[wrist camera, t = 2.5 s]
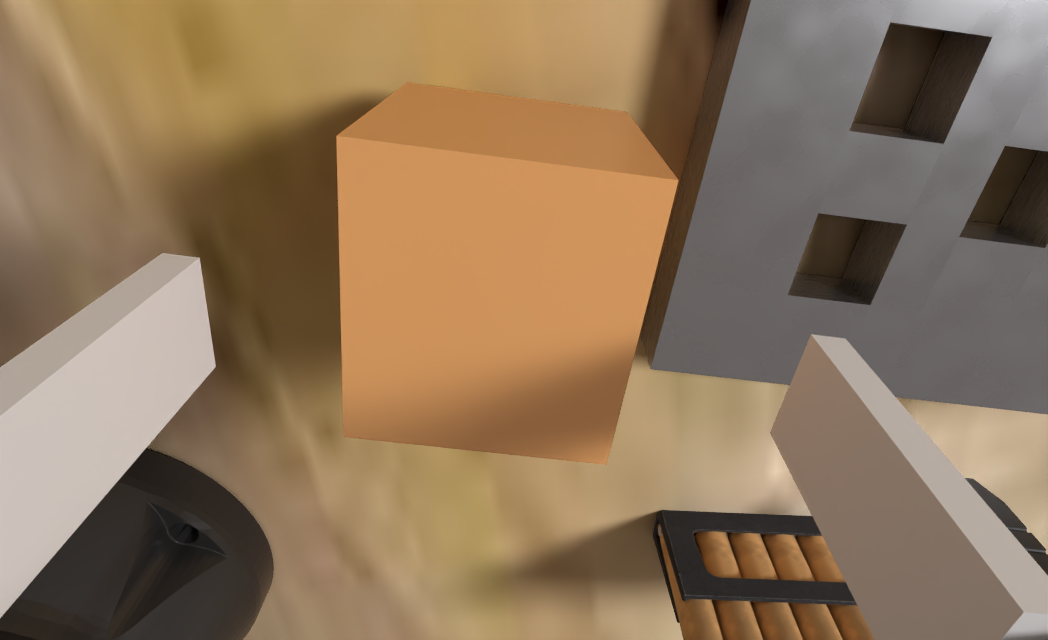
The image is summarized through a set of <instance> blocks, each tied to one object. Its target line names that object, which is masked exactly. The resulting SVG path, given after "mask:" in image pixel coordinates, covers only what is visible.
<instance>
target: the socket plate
mask: <svg viewBox="0 0 1048 640" xmlns="http://www.w3.org/2000/svg"><path fill="white" fill-rule="evenodd" d="M890 24H894V25H900V26H907V27H914V28H921V29H928V30H935V31H942V32H945V33H944V35H943V38H942V40H941V42H940V45H939V47H938V50H937V52H936V54H935V57H934V59H933V62H932V64H931V66H930V69H929V71H928V73H927V76H926V78H925V81H924V83H923V85H922V88H921V90H920V93H919V95H918V97H917V100H916V102H915V105H914V107H913V109H912V112H911V114H910V116H909V119H908V121H907V124H906V126H905V128H904V129H901V128H894V127H887V126H879V125H872V124H865V123H857V122H853V120H854V118H855V115H856V112H857V110H858V107H859V104H860V102H861V99H862V96H863V94H864V91H865V88H866V86H867V83H868V80H869V78H870V75H871V73H872V70H873V67H874V65H875V62H876V59H877V57H878V54H879V51H880V49H881V46H882V43H883V41H884V38H885V35H886V33H887V30H888V27H889V25H890ZM1005 146H1011V147H1018V148H1026V149H1033V150H1039V152H1038V153H1037V155H1036V157H1035V159H1034V161H1033V163H1032V165H1031V167H1030V168H1029V170H1028V172H1027V174H1026V176H1025V178H1024V180H1023V182H1022V183H1021V185H1020V187H1019V189H1018V191H1017V193H1016V195H1015V197H1014V198H1013V200H1012V202H1011V204H1010V206H1009V208H1008V210H1007V212H1006V213H1005V215H1004V217H1003V219H1002V221H1001V223H1000V225H997V224H989V223H981V222H974V221H967V220H968V218H969V216H970V214H971V212H972V210H973V208H974V206H975V204H976V202H977V200H978V198H979V196H980V194H981V193H982V191H983V189H984V187H985V185H986V183H987V181H988V179H989V177H990V175H991V173H992V171H993V169H994V167H995V165H996V163H997V161H998V159H999V157H1000V155H1001V153H1002V151H1003V149H1004V147H1005ZM818 213H820V214H828V215H836V216H844V217H851V218H859V219H866V221H865V224H864V226H863V229H862V231H861V233H860V236H859V238H858V240H857V243H856V245H855V248H854V250H853V252H852V255H851V257H850V260H849V262H848V264H847V267H846V269H845V272H844V274H843V276H842V278H836V277H828V276H820V275H811V274H803V273H796V271H797V269H798V266H799V263H800V261H801V258H802V256H803V253H804V250H805V248H806V245H807V242H808V240H809V237H810V234H811V232H812V229H813V226H814V224H815V221H816V218H817V216H818ZM811 334H813V335H821V336H829V337H837V338H845V339H846V340H847V341H848V342H849V343H850V344H851V346H852V347H853V348H854V349H855V350H856V351H857V353H858V354H859V355H860V356H861V357H862V359H863V360H864V361H865V362H866V363H867V364H868V366H869V367H870V368H871V369H872V370H873V371H874V373H875V374H876V375H877V376H878V377H879V378H880V380H881V381H882V382H883V383H884V384H885V385H886V387H887V388H888V389H889V390H890V391H891V392H892V394H893V395H894V396H895V397H900V398H909V399H918V400H927V401H935V402H944V403H953V404H962V405H970V406H979V407H988V408H997V409H1005V410H1014V411H1023V412H1032V413H1041V414H1048V0H728V1H727V5H726V9H725V13H724V17H723V21H722V25H721V28H720V32H719V36H718V40H717V44H716V48H715V52H714V56H713V60H712V64H711V68H710V71H709V75H708V79H707V83H706V87H705V91H704V95H703V99H702V103H701V107H700V111H699V114H698V118H697V122H696V126H695V130H694V134H693V138H692V142H691V146H690V150H689V154H688V157H687V161H686V165H685V169H684V173H683V177H682V181H681V185H680V189H679V193H678V197H677V200H676V204H675V208H674V212H673V216H672V220H671V224H670V228H669V232H668V236H667V240H666V243H665V247H664V251H663V255H662V259H661V263H660V267H659V271H658V275H657V279H656V283H655V286H654V290H653V294H652V298H651V302H650V306H649V310H648V314H647V318H646V322H645V326H644V329H643V333H642V337H641V340H642V343H643V346H644V349H645V353H646V356H647V359H648V362H649V365H650V369H655V370H663V371H672V372H681V373H690V374H699V375H707V376H716V377H725V378H734V379H742V380H751V381H760V382H769V383H777V384H786V385H790V384H791V381H792V379H793V377H794V374H795V372H796V369H797V367H798V365H799V362H800V360H801V357H802V355H803V353H804V350H805V348H806V345H807V343H808V341H809V338H810V336H811Z"/></svg>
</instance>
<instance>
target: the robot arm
mask: <svg viewBox="0 0 1048 640" xmlns="http://www.w3.org/2000/svg"><path fill="white" fill-rule="evenodd" d="M215 367H216V365H215V358H214V351H213V345H212V338H211V331H210V324H209V318H208V311H207V304H206V297H205V291H204V284H203V277H202V271H201V264H200V258H198V257H190V256H182V255H174V254H166V253H162V254H160V255H159V256H158V257H156V258H155V259H153V260H152V261H150V262H149V263H148V264H146V265H145V266H143V267H142V268H140V269H139V270H138V271H136V272H135V273H133V274H132V275H131V276H129V277H128V278H126V279H125V280H123V281H122V282H121V283H119V284H118V285H116V286H115V287H114V288H112V289H111V290H109V291H108V292H106V293H105V294H104V295H102V296H101V297H99V298H98V299H96V300H95V301H94V302H92V303H91V304H89V305H88V306H87V307H85V308H84V309H82V310H81V311H79V312H78V313H77V314H75V315H74V316H72V317H71V318H70V319H68V320H67V321H65V322H64V323H62V324H61V325H60V326H58V327H57V328H55V329H54V330H52V331H51V332H50V333H48V334H47V335H45V336H44V337H43V338H41V339H40V340H38V341H37V342H35V343H34V344H33V345H31V346H30V347H28V348H27V349H26V350H24V351H23V352H21V353H20V354H18V355H17V356H16V357H14V358H13V359H11V360H10V361H8V362H7V363H6V364H4V365H3V366H1V367H0V640H243V639H244V638H245V636H246V635H247V634H248V632H249V630H250V629H251V627H252V626H253V624H254V622H255V620H256V618H257V616H258V613H259V611H260V609H261V607H262V604H263V602H264V600H265V598H266V595H267V593H268V591H269V589H270V586H271V583H272V578H273V558H272V553H271V549H270V546H269V543H268V541H267V538H266V536H265V534H264V532H263V531H262V529H261V527H260V525H259V524H258V523H257V521H256V520H255V518H254V517H253V516H252V515H251V513H250V512H249V511H248V510H247V509H246V508H245V507H244V505H243V504H242V503H241V502H240V501H238V500H237V499H236V498H235V497H234V496H233V495H232V494H231V493H230V492H228V491H227V490H226V489H225V488H223V487H222V486H221V485H219V484H218V483H217V482H215V481H214V480H212V479H210V478H209V477H207V476H206V475H204V474H202V473H201V472H199V471H197V470H195V469H194V468H192V467H190V466H188V465H186V464H184V463H181V462H179V461H177V460H175V459H172V458H170V457H167V456H165V455H162V454H159V453H157V452H154V451H151V450H147V449H146V448H147V446H148V445H149V444H150V443H151V442H152V441H153V439H154V438H155V437H156V436H157V435H158V434H159V432H160V431H161V430H162V429H163V428H164V427H165V425H166V424H167V423H168V422H169V421H170V420H171V418H172V417H173V416H174V415H175V414H176V413H177V411H178V410H179V409H180V408H181V407H182V406H183V404H184V403H185V402H186V401H187V400H188V399H189V397H190V396H191V395H192V394H193V393H194V392H195V390H196V389H197V388H198V387H199V386H200V385H201V383H202V382H203V381H204V380H205V379H206V378H207V376H208V375H209V374H210V373H211V372H212V371H213V369H214V368H215ZM770 433H771V435H772V437H773V439H774V441H775V443H776V445H777V447H778V449H779V451H780V453H781V455H782V457H783V459H784V461H785V463H786V465H787V467H788V469H789V471H790V473H791V475H792V477H793V479H794V481H795V483H796V485H797V487H798V489H799V491H800V493H801V495H802V497H803V499H804V501H805V503H806V505H807V507H808V509H809V510H810V512H811V514H812V516H813V518H814V520H815V522H816V524H817V526H818V528H819V530H820V532H821V534H822V536H823V538H824V540H825V542H826V544H827V546H828V548H829V550H830V552H831V554H832V556H833V558H834V560H835V562H836V564H837V566H838V568H839V570H840V572H841V574H842V576H843V578H844V580H845V582H846V584H847V586H848V588H849V590H850V592H851V594H852V595H853V597H854V599H855V601H856V603H857V605H858V607H859V609H860V611H861V613H862V615H863V617H864V619H865V621H866V623H867V625H868V627H869V629H870V631H871V633H872V635H873V637H874V639H875V640H1048V555H1047V554H1046V552H1045V551H1046V549H1045V548H1044V547H1043V546H1042V544H1041V543H1040V542H1039V541H1038V540H1037V539H1036V538H1035V537H1034V535H1033V534H1032V533H1027V531H1026V529H1027V528H1026V526H1025V525H1024V524H1023V523H1022V522H1021V521H1020V520H1019V519H1018V517H1017V516H1016V515H1015V514H1014V513H1013V512H1012V511H1011V510H1010V508H1009V507H1008V506H1007V505H1006V504H1005V503H1004V502H1003V501H1002V500H1000V499H999V498H998V497H996V496H995V495H994V494H992V493H991V492H990V491H988V490H987V489H986V488H984V487H983V486H982V485H980V484H979V483H978V482H977V481H975V480H974V479H970V478H964V477H963V476H962V475H961V473H960V472H959V471H958V470H957V469H956V467H955V466H954V465H953V464H952V463H951V462H950V460H949V459H948V458H947V457H946V456H945V455H944V453H943V452H942V451H941V450H940V449H939V448H938V446H937V445H936V444H935V443H934V442H933V441H932V439H931V438H930V437H929V436H928V435H927V433H926V432H925V431H924V430H923V429H922V428H921V426H920V425H919V424H918V423H917V422H916V421H915V419H914V418H913V417H912V416H911V415H910V414H909V412H908V411H907V410H906V409H905V408H904V407H903V405H902V404H901V403H900V402H899V401H898V400H897V398H896V397H895V396H894V395H893V394H892V392H891V391H890V390H889V389H888V388H887V387H886V385H885V384H884V383H883V382H882V381H881V380H880V378H879V377H878V376H877V375H876V374H875V373H874V371H873V370H872V369H871V368H870V367H869V366H868V364H867V363H866V362H865V361H864V360H863V359H862V357H861V356H860V355H859V354H858V353H857V351H856V350H855V349H854V348H853V347H852V346H851V344H850V343H849V342H848V341H847V340H846V339H845V338H837V337H829V336H821V335H813V334H811V336H810V338H809V341H808V343H807V345H806V348H805V350H804V353H803V355H802V357H801V360H800V362H799V365H798V367H797V369H796V372H795V374H794V377H793V379H792V381H791V384H790V386H789V389H788V391H787V393H786V396H785V398H784V401H783V403H782V405H781V408H780V410H779V413H778V415H777V417H776V420H775V422H774V425H773V427H772V429H771V432H770Z"/></svg>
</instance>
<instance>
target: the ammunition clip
mask: <svg viewBox="0 0 1048 640" xmlns="http://www.w3.org/2000/svg"><path fill="white" fill-rule="evenodd" d="M653 538H654V541H655V545H656V548H657V552H658V556H659V559H660V563H661V566H662V570H663V573H664V577H665V580H666V584H667V588H668V591H669V595H670V598H671V602H672V605H673V609H674V612H675V616H676V619H677V622H678V623H680V627H681V631H682V635H683V639H684V640H875V639H874V637H873V635H872V633H871V631H870V629H869V627H868V625H867V623H866V621H865V619H864V617H863V615H862V613H861V611H860V609H859V607H858V605H857V603H856V601H855V599H854V597H853V595H852V594H851V592H850V590H849V588H848V586H847V584H846V582H845V580H844V578H843V576H842V574H841V572H840V570H839V568H838V566H837V564H836V562H835V560H834V558H833V556H832V554H831V552H830V550H829V548H828V546H827V544H826V542H825V540H824V538H823V536H822V534H821V532H820V530H819V528H818V526H817V524H816V522H815V520H814V518H813V516H793V515H768V514H744V513H719V512H695V511H670V510H661V511H660V512H659V513H658V514H657V519H656V523H655V528H654V533H653Z"/></svg>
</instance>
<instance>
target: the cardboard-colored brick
mask: <svg viewBox="0 0 1048 640" xmlns="http://www.w3.org/2000/svg"><path fill="white" fill-rule="evenodd" d="M336 140H337V182H338V224H339V267H340V309H341V351H342V393H343V435H344V437H349V438H359V439H368V440H378V441H387V442H397V443H406V444H416V445H425V446H434V447H444V448H453V449H463V450H472V451H482V452H491V453H501V454H510V455H520V456H529V457H539V458H548V459H557V460H567V461H576V462H586V463H595V464H605V465H607V461H608V457H609V453H610V449H611V446H612V442H613V438H614V434H615V430H616V426H617V422H618V418H619V414H620V410H621V406H622V402H623V398H624V394H625V390H626V386H627V382H628V378H629V375H630V371H631V367H632V363H633V359H634V355H635V351H636V347H637V343H638V339H639V335H640V331H641V327H642V323H643V319H644V315H645V311H646V307H647V304H648V300H649V296H650V292H651V288H652V284H653V280H654V276H655V272H656V268H657V264H658V260H659V256H660V252H661V248H662V244H663V240H664V236H665V232H666V229H667V225H668V221H669V217H670V213H671V209H672V205H673V201H674V197H675V193H676V189H677V185H678V181H679V180H678V179H677V177H676V176H675V175H674V173H673V172H672V171H671V169H670V168H669V167H668V165H667V164H666V163H665V161H664V160H663V159H662V158H661V156H660V155H659V154H658V152H657V151H656V150H655V148H654V147H653V146H652V144H651V143H650V142H649V140H648V139H647V138H646V136H645V135H644V134H643V132H642V131H641V130H640V128H639V127H638V126H637V125H636V123H635V122H634V121H633V119H632V118H631V117H630V115H629V114H628V113H627V112H622V111H615V110H608V109H600V108H593V107H585V106H578V105H571V104H563V103H556V102H548V101H541V100H534V99H526V98H519V97H511V96H504V95H496V94H489V93H482V92H474V91H467V90H461V89H453V88H446V87H438V86H431V85H422V84H415V83H408V82H407V83H406V84H405V85H403V86H402V87H401V88H399V89H398V90H397V91H395V92H394V93H393V94H391V95H390V96H389V97H387V98H386V99H385V100H383V101H382V102H381V103H379V104H378V105H377V106H375V107H374V108H373V109H371V110H370V111H369V112H367V113H366V114H365V115H363V116H362V117H361V118H359V119H358V120H357V121H355V122H354V123H353V124H351V125H350V126H349V127H347V128H346V129H345V130H343V131H342V132H341V133H339V134H338V135H337V136H336Z"/></svg>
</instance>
